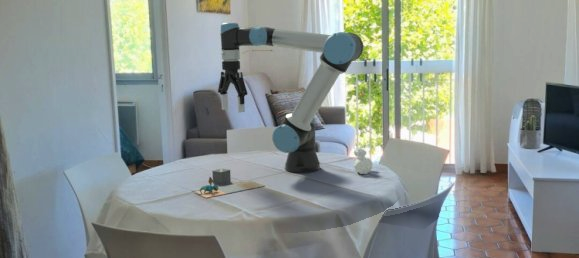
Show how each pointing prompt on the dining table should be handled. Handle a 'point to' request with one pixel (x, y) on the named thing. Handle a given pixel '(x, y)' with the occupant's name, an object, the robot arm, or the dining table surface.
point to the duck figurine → (362, 162)
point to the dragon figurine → (208, 187)
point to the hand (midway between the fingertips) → (233, 110)
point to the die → (221, 176)
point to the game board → (230, 189)
